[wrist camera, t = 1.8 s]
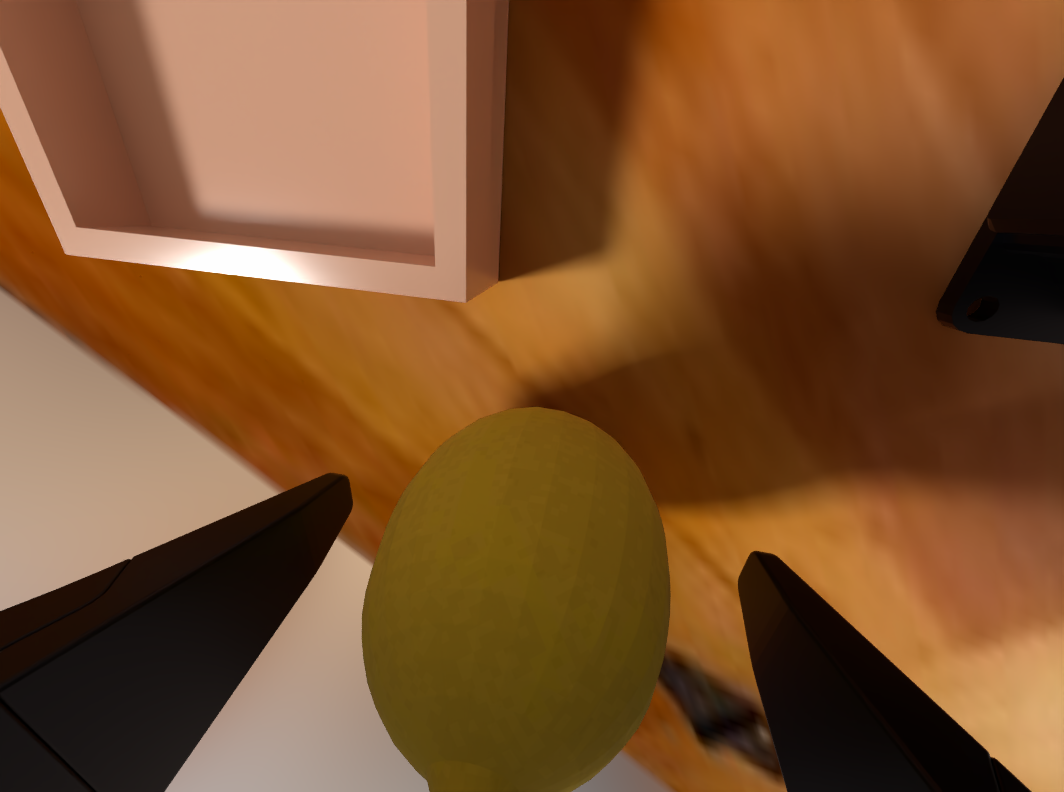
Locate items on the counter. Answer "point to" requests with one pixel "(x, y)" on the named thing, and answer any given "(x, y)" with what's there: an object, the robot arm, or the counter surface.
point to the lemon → (518, 606)
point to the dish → (268, 135)
